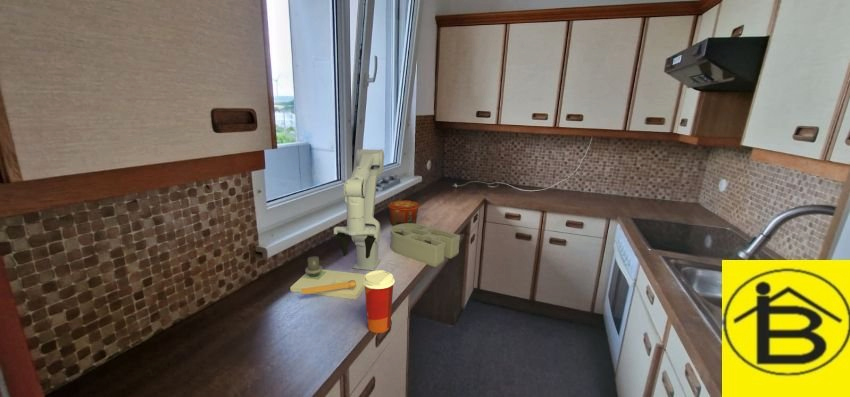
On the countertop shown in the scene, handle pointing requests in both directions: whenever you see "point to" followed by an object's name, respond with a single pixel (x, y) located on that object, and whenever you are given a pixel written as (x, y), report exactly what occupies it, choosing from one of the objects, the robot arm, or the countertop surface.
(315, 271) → the plug
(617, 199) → the countertop surface
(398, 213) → the food container
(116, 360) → the countertop surface
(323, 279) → the board
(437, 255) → the green compartment tray
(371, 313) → the coffee cup
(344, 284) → the tan wooden rod
